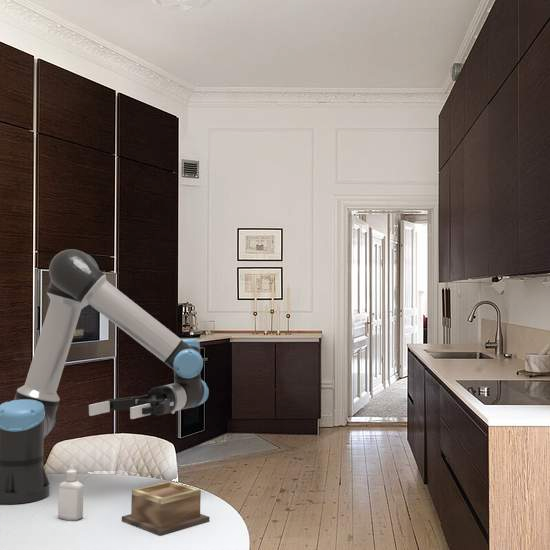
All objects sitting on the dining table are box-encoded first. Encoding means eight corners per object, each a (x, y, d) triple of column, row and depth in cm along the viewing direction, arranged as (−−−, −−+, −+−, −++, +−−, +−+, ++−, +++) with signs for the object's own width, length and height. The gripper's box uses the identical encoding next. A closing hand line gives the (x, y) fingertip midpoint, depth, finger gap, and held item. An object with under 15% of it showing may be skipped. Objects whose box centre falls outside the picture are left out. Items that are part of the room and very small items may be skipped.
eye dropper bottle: (66, 523, 155) (67, 468, 156) (56, 516, 159) (57, 464, 160) (84, 519, 158) (86, 465, 158) (74, 513, 162) (75, 461, 163)
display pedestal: (121, 521, 157) (122, 489, 157) (170, 508, 167) (171, 478, 168) (159, 535, 147) (160, 502, 148) (209, 521, 158) (210, 490, 158)
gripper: (203, 415, 182) (150, 430, 163) (131, 410, 194) (74, 424, 176) (202, 387, 182) (149, 398, 164) (130, 383, 194) (73, 394, 176)
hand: (110, 411), depth 170 cm, fingers open, 13 cm apart
